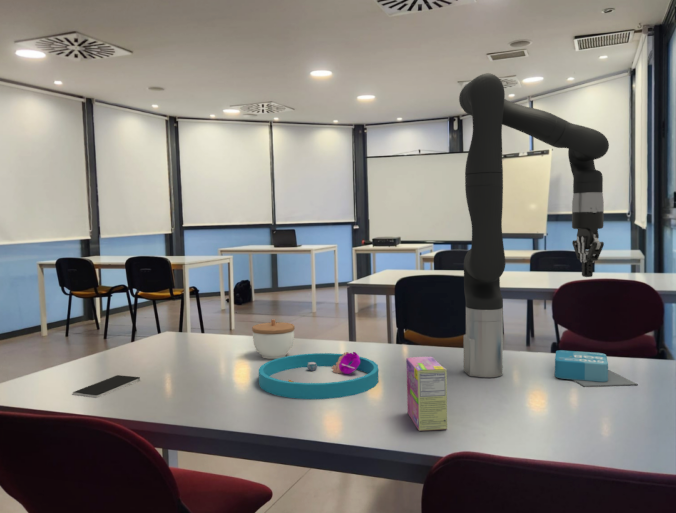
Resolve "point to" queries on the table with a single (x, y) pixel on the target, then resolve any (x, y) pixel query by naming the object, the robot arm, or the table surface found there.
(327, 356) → the teal ring
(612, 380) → the slate mat
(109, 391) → the smartphone
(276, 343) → the lidded bowl
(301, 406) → the table surface
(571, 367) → the teal rounded block
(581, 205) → the robot arm
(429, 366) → the box
